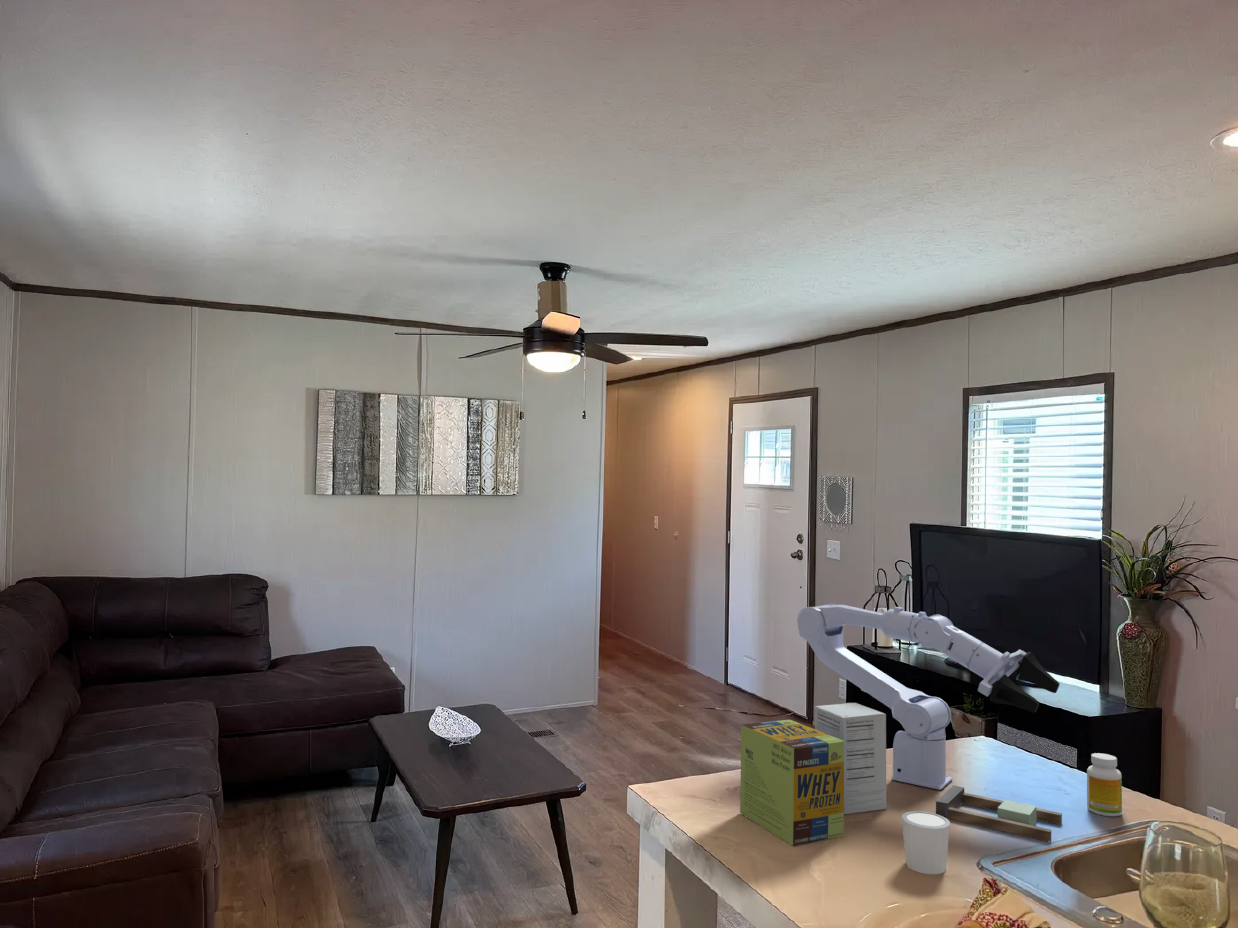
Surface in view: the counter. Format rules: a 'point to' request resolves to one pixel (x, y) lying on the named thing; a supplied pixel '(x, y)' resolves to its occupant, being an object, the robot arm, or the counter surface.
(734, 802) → the counter surface
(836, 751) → the protein box
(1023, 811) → the block
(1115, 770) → the supplement bottle
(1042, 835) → the guide channel
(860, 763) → the supplement box
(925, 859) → the white cup
